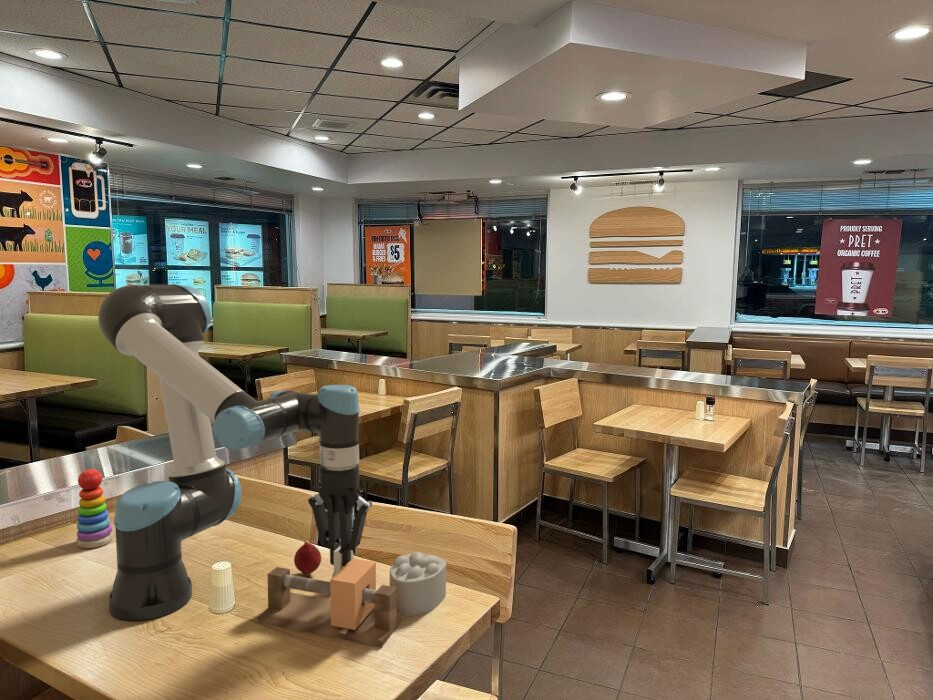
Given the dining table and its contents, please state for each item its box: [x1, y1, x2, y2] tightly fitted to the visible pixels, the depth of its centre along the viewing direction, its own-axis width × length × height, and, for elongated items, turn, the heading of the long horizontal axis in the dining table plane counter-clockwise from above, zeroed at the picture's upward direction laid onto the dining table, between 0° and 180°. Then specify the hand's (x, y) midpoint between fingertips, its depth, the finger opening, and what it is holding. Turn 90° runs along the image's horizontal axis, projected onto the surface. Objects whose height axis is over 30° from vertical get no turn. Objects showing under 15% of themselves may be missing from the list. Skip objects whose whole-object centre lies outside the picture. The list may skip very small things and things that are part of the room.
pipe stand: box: [257, 566, 404, 648], centre depth 120 cm, size 26×10×8 cm, turn 74°
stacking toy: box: [75, 468, 114, 549], centre depth 152 cm, size 8×8×19 cm
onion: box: [293, 539, 322, 576], centre depth 139 cm, size 6×6×8 cm
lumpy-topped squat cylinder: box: [389, 551, 447, 617], centre depth 129 cm, size 10×13×9 cm
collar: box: [329, 558, 377, 630], centre depth 119 cm, size 5×9×9 cm, turn 164°
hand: (340, 580), depth 123 cm, fingers closed
